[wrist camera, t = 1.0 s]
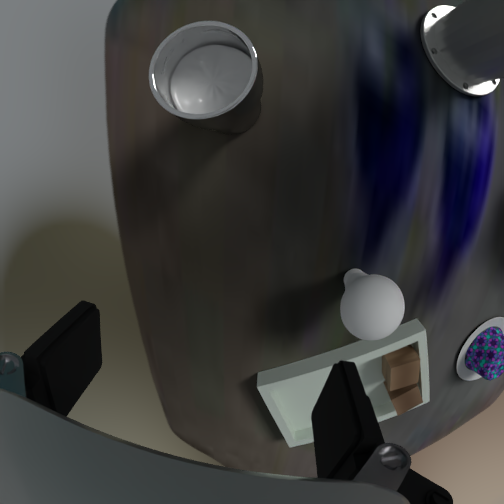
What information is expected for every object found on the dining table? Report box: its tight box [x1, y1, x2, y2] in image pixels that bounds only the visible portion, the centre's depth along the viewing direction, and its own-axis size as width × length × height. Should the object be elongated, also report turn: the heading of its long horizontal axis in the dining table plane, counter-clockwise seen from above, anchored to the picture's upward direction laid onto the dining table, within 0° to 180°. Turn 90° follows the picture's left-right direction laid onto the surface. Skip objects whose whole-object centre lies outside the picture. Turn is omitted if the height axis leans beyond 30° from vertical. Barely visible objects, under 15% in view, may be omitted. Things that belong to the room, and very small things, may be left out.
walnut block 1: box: [382, 344, 420, 391], centre depth 35 cm, size 4×4×4 cm
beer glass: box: [149, 21, 263, 135], centre depth 23 cm, size 7×7×15 cm
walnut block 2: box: [383, 381, 423, 415], centre depth 36 cm, size 4×4×4 cm
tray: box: [257, 318, 430, 447], centre depth 38 cm, size 22×14×3 cm, turn 111°
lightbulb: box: [340, 269, 405, 341], centre depth 29 cm, size 6×6×11 cm
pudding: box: [457, 317, 504, 381], centre depth 34 cm, size 12×12×5 cm
